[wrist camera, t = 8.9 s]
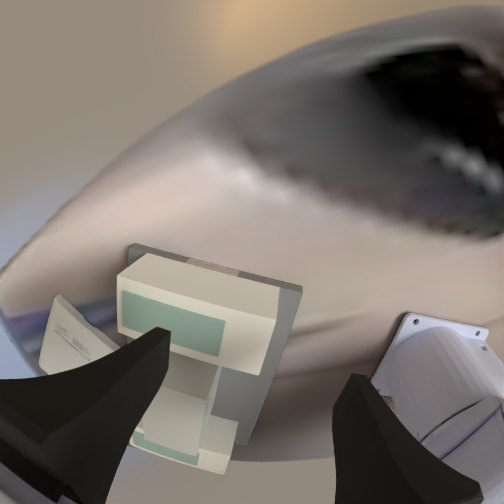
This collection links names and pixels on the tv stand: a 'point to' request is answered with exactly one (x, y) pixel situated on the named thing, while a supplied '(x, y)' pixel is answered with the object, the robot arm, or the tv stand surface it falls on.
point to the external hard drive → (71, 340)
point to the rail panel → (210, 337)
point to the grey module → (182, 404)
